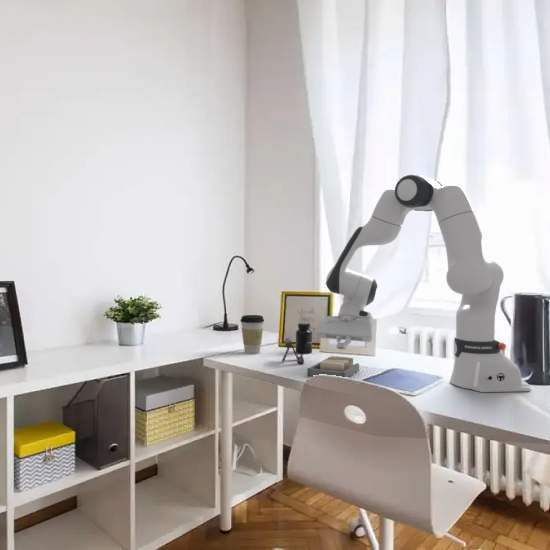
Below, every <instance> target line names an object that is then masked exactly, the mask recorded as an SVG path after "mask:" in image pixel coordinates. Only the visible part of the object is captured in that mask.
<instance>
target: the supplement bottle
mask: <svg viewBox="0 0 550 550" xmlns="http://www.w3.org/2000/svg"><path fill="white" fill-rule="evenodd" d="M297 324H298V327H297V328H298V329H296V331H295V352H296V354H300V355H301V354H302V355H305V354H306V355H307V354H311V353H312V352H313V331H312V330H311V324H310V323H309V322H298V323H297Z"/></svg>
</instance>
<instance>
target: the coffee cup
mask: <svg viewBox="0 0 550 550" xmlns="http://www.w3.org/2000/svg"><path fill="white" fill-rule="evenodd" d="M239 322H241V323H240V324H241V334H242V343H243V349H244V354H246V355H258V354H260V353H261V348H262V347H261V345H262V340H263V339H262V338H263V333H264V332H263V331H264V330H263V329H264V327H263V325H264V322H265V319H264V317H263V315H258V314H248V315H247V314H246V315H245V314H244V315H242V316H241V318H240V321H239Z"/></svg>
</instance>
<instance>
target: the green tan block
mask: <svg viewBox="0 0 550 550" xmlns="http://www.w3.org/2000/svg"><path fill="white" fill-rule="evenodd" d="M353 365H354V358H353V357H349V356H347V357H346V356H338V355H337V356H336V355H330V356H329V357H327V358H325V359H323V360H321V361H320V369H321V370H330V371H338V372H344V371H345V370H347V369H348V368H350V367H351V366H353Z"/></svg>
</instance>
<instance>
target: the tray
mask: <svg viewBox="0 0 550 550" xmlns="http://www.w3.org/2000/svg"><path fill="white" fill-rule="evenodd" d="M320 362H321V361H320ZM320 362H319V361H318V363H316V364H314V365H312V366H310V367H308V368H307V375H308V376H307V377H310V376H313V375H319V374H327V375H336V376H342V377H349V378H351V377H353V374H354V373H355V374H357V373H358V372H360V363H358V362H357V363H353V366H351V367H350V368H348V369H347V370H345V371H344V372H338V371H330V370H321V369H320ZM357 371H358V372H357ZM355 374H354V375H355ZM350 376H351V377H350Z"/></svg>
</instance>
